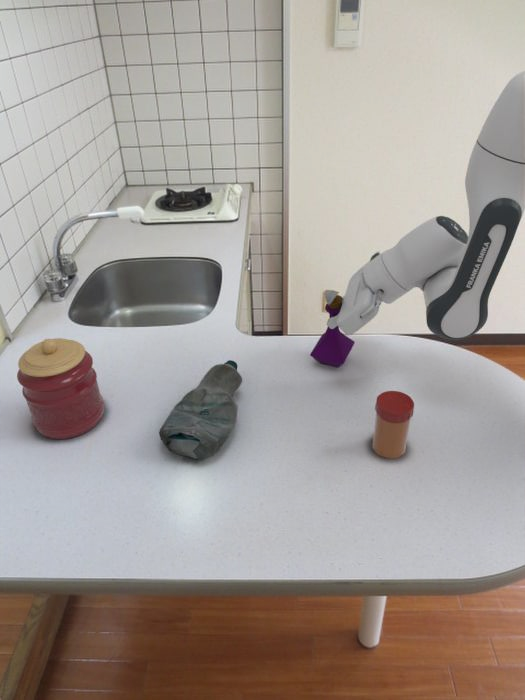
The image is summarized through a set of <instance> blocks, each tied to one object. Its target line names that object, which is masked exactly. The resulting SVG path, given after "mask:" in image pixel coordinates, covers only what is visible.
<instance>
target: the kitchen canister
mask: <svg viewBox="0 0 525 700" xmlns="http://www.w3.org/2000/svg"><path fill="white" fill-rule="evenodd" d="M17 362H18V365H17V366H18V371H17V372H16V373H17V374H16V379H17V382H18V383H19V385H21V387H22V389H21V390H22V391H21V392H22V396H23V398H24V399H25V401H26V403H27V406H28V410H29V411H30V414H31V420H32V422H33V423H32V424H33V425H34V427H35V429H36V430H37V431H38V433H39V434H40V435H42V436H44V437H46V438H49V439H55V440H65V439H70V438H75V437H78V436H81V435H83V434H85V433H86V432H89V431H90V430H91V429H93V428H95V426H97V425H98V424H99V422H100V421H101V420H102V418H103V416H104V412H105V410H104V408H105V403H104V398H103V396H102V394H101V391H100V388H99V387H100V386H99V383H98V379H97V378H98V376H97V371H96V370H95V368H94V367H93V365H94V364H93V363H94V360H93V357H92V355H91V354H90V353H89V352H88V351H86V349H85V347H84V345H83V344H82V343H81V342H79V341H77V340H73V339H68V338H60V337H59V338H58V337H57V338H45V339H44V340H42V341H40V342H37V343H36V344H34V345H32V346H31V347H30V348H29V349H28V350H26V351H25V352H24V353H23V354H22V355H21V356H20V357H19V359H18V361H17Z"/></svg>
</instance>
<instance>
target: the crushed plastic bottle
mask: <svg viewBox="0 0 525 700" xmlns="http://www.w3.org/2000/svg"><path fill="white" fill-rule="evenodd" d="M242 383H243V377H242V375H241V374H240V372H239V371H238V363H237V362H236V361H234V360H231V359H230V360H227V361H226V362H224V363H218V364H215V365H214V366H212V367H211V368H210V369H208V371H207V372H206V374H205V375H204V376H203V377H202V378H201V380H200V382H199V384H198V385H197V386H196V387H195V388H193V389H192V390H190V391H188V392H187V393H186V394H185V395H184V396H183V397H182V399H181V400H179V402H178V403H176V404H175V406H174V407H173V409H172V410H171V411H170V413H169V415H168V416H167V418H166V419H165V420H164V423H163V424H162V425H161V428H160V429H159V431H158V434H159V435H158V436H159V438H160V440H161V442H162V444H163V445H164V447H166V448H167V450H168V451H169V452H172V453H174V454H176V455H178V456H182V457H185V458H189V459H192V460H206V459H207V460H208V459H209V458H212V457H214V456H215V455H217V453H219V452H220V450H221V449H222V447H223V445H224V444H225V442H226V441H227V439H228V437H229V436H230V434H231V432H232V431H233V430H234V427H235V425H236V422H237V417H238V410H239V409H238V408H239V405H238V404H237V402H236V401H235V399H234V398H233V397H232V396H234V394H235V393H236V392H237V390H238V389H239V388H240V387H241V385H242Z"/></svg>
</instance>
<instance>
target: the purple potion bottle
mask: <svg viewBox="0 0 525 700" xmlns="http://www.w3.org/2000/svg"><path fill="white" fill-rule="evenodd" d="M339 293H340V291H337V290H333V289H325V290H324V299H325V302H326V304H325V306H324V310H325V312H326V313H328V314H329V318H328V319H330V318H331V317H332V316H334V317H335V316H336V315H338V313H339V312H340V310H341V306H342V300H343V298H342V297H343V296H342V295H340V294H339ZM316 342H317V343H316V344H315V345H314V347H313V348H312V350H311V352H310V354H309V355H310V357H311V358H313V359H314V360H315V361H317V363H319V364H321V365H325V366H328V367H333V368H336V369H339V368H340V367H341V366H343V365H344V364H345V362H346V360H347V358H348V356H349V354H350V353H351V351H352V349H353V347H354V345H355V341H354V340H353V339H351V338H350V337H348V335H346V334H345V333H344V332H343V331H341V329H340V328H339V327H338V326H336V327H335V328H334V329H330V328H329V327H328V326H327V328H326V330H325V332H324V333H322V334H321V336H320V337H319V339H318V341H316Z"/></svg>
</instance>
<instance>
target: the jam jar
mask: <svg viewBox="0 0 525 700" xmlns="http://www.w3.org/2000/svg"><path fill="white" fill-rule="evenodd" d="M411 418H412V417H411ZM411 418H410V419H409V420H408V421H406V422H402V423H391V422H388V421H385V420H383V419H381V418H380V417H379V416H378V415H377V413H376V412H375V419H374V421H375V422H374V429H373V435H372V436H373V437H372V445H371V446H372V449H373V451H374V452H375V454H377V455H378V456H380V457H381V458H384V459H392V460H393V459H398V458H400V457H402V456H404V454H405V452H406V448H407V441H408V436H409V430H410V423H411Z"/></svg>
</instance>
